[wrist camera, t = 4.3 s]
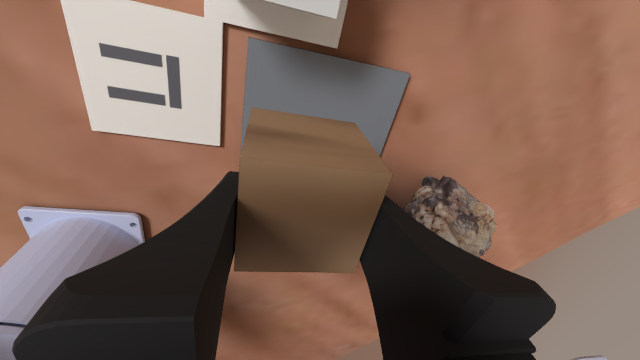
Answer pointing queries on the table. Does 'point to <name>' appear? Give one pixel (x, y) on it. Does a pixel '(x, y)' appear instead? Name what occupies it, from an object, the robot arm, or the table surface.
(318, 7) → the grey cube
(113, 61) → the code tile
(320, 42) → the code tile
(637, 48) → the table surface
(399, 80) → the slate mat
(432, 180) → the rock
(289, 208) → the walnut cube
